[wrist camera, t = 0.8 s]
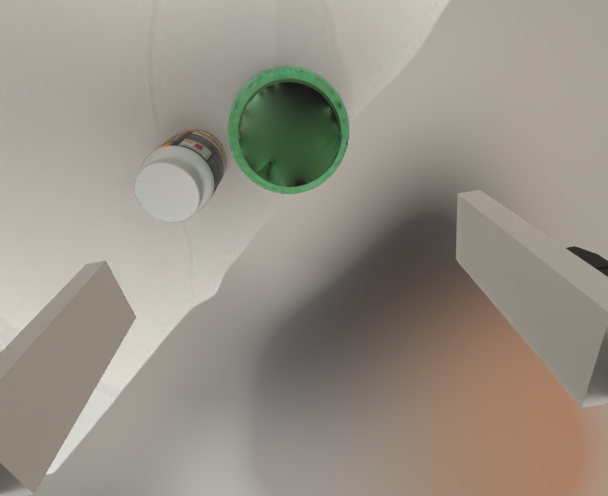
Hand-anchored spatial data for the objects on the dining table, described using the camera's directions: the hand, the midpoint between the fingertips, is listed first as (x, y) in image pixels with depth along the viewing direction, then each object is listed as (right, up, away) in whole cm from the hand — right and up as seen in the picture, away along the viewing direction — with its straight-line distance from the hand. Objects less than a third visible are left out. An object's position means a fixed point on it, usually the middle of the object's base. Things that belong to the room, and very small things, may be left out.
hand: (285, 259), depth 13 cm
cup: (-1, +13, +19) cm, 23 cm away
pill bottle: (-10, +9, +21) cm, 25 cm away
